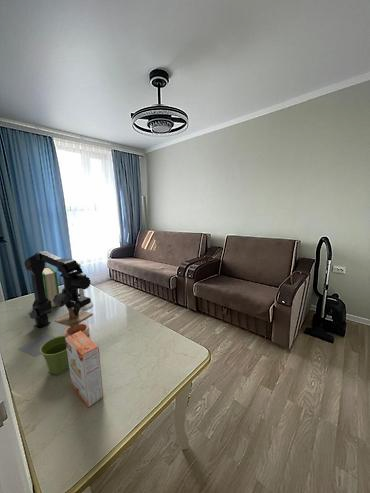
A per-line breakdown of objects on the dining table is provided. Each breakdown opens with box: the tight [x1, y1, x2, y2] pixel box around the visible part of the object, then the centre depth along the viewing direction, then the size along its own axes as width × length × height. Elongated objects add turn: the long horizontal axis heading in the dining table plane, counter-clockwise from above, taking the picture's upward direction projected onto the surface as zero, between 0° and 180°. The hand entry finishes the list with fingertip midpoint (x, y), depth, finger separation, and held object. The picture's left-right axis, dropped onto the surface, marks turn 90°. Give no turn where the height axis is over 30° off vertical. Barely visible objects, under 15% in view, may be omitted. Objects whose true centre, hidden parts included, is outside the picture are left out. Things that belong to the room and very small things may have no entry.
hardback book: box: [42, 265, 60, 308], centre depth 141 cm, size 18×7×24 cm, turn 45°
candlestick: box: [78, 263, 94, 311], centre depth 136 cm, size 13×13×30 cm
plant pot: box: [40, 335, 69, 376], centre depth 86 cm, size 12×12×11 cm
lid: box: [54, 307, 94, 328], centre depth 105 cm, size 12×12×6 cm
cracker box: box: [65, 331, 104, 409], centre depth 74 cm, size 14×6×21 cm, turn 49°
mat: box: [17, 333, 56, 357], centre depth 101 cm, size 13×13×1 cm
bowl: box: [63, 322, 90, 337], centre depth 107 cm, size 11×11×4 cm
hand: (74, 314), depth 105 cm, fingers closed on lid, 3 cm apart
